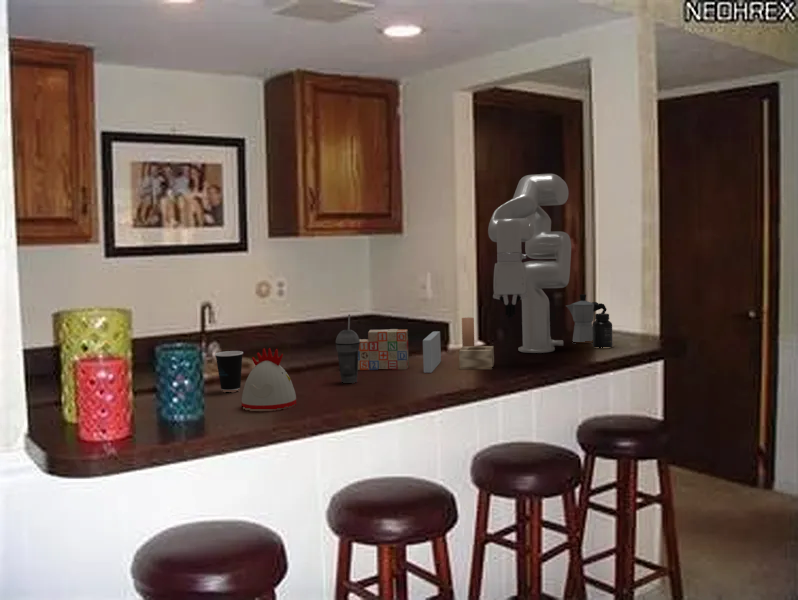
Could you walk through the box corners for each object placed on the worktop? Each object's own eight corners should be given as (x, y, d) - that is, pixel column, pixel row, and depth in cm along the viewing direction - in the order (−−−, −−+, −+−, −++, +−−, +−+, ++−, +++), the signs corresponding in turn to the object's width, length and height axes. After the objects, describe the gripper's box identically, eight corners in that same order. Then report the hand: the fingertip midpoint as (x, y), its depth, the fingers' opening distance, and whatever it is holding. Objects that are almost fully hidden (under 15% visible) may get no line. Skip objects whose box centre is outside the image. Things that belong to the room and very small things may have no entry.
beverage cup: (350, 379, 249) (347, 312, 247) (366, 381, 243) (364, 313, 242) (331, 382, 243) (328, 314, 242) (348, 385, 238) (345, 316, 237)
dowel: (475, 358, 280) (474, 317, 278) (474, 360, 276) (473, 318, 274) (463, 358, 280) (462, 317, 279) (462, 360, 276) (461, 318, 275)
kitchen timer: (286, 412, 205) (284, 352, 204) (233, 411, 208) (230, 352, 207) (302, 400, 219) (300, 344, 218) (253, 400, 221) (250, 344, 220)
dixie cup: (247, 388, 239) (245, 350, 238) (242, 393, 231) (240, 354, 231) (219, 389, 239) (217, 351, 238) (213, 394, 231) (211, 355, 231)
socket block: (494, 364, 267) (493, 346, 267) (491, 369, 258) (491, 350, 257) (463, 364, 269) (462, 346, 269) (459, 370, 259) (459, 350, 259)
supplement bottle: (612, 346, 298) (611, 312, 297) (612, 349, 291) (612, 314, 290) (592, 346, 299) (592, 313, 298) (592, 349, 293) (592, 315, 292)
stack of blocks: (340, 370, 265) (339, 332, 264) (343, 367, 272) (342, 330, 271) (407, 369, 263) (406, 331, 262) (409, 366, 269) (407, 328, 268)
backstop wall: (440, 361, 277) (440, 331, 276) (431, 372, 255) (430, 340, 254) (433, 361, 277) (432, 331, 276) (423, 372, 256) (422, 340, 255)
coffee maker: (566, 344, 307) (565, 295, 305) (565, 341, 315) (565, 293, 314) (608, 343, 304) (607, 294, 303) (606, 340, 313) (605, 292, 311)
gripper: (534, 257, 261) (535, 315, 262) (486, 258, 264) (487, 316, 265) (533, 258, 254) (534, 318, 255) (484, 259, 256) (485, 318, 258)
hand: (510, 317), depth 260 cm, fingers closed
